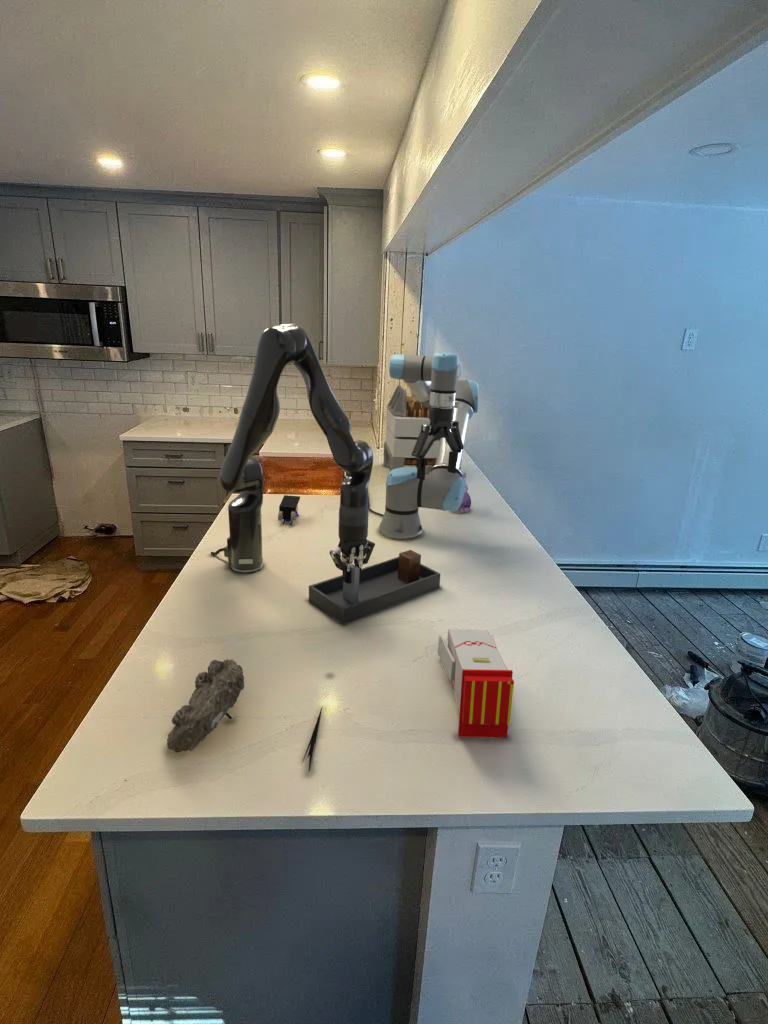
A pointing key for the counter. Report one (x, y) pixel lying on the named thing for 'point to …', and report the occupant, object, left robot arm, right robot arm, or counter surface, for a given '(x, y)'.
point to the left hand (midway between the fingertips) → (351, 580)
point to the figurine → (464, 500)
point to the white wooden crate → (405, 431)
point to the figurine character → (288, 509)
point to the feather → (313, 740)
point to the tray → (369, 590)
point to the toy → (478, 682)
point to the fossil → (206, 705)
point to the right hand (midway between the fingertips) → (436, 475)
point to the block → (409, 566)
